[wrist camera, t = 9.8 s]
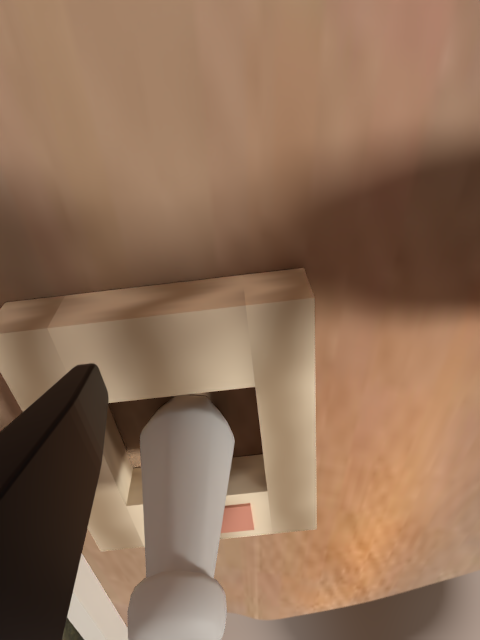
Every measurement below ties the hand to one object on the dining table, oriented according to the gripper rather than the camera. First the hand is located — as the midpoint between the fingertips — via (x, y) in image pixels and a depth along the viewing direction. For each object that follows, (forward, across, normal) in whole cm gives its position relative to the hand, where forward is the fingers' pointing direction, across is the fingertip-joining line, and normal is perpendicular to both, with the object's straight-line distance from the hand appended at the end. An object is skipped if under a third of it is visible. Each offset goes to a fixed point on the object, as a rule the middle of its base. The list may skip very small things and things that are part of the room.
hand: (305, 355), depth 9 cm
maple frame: (+13, +6, +15) cm, 21 cm away
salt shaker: (+13, +6, +15) cm, 21 cm away
